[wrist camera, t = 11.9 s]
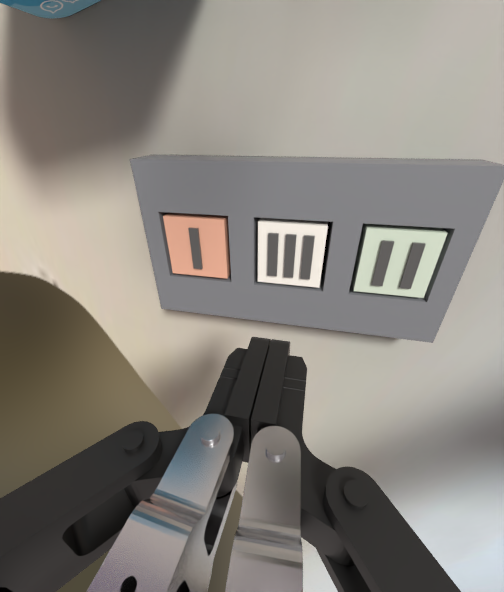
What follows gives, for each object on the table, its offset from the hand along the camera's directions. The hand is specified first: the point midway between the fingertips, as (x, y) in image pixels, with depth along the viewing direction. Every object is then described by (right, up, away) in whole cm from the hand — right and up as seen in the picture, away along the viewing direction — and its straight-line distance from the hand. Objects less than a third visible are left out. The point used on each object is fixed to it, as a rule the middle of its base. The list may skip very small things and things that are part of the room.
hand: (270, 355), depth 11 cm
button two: (+9, +6, +10) cm, 15 cm away
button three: (+3, +7, +11) cm, 13 cm away
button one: (-4, +7, +12) cm, 15 cm away
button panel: (+3, +7, +11) cm, 13 cm away
